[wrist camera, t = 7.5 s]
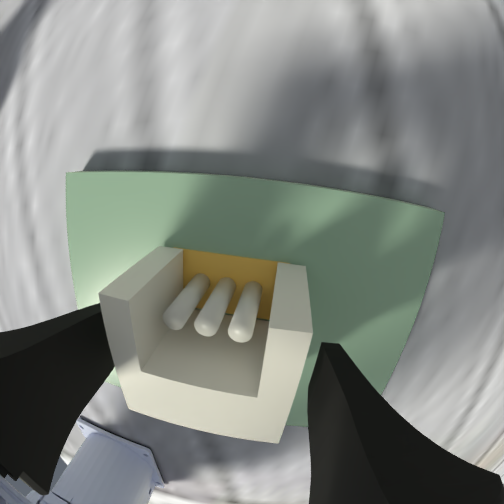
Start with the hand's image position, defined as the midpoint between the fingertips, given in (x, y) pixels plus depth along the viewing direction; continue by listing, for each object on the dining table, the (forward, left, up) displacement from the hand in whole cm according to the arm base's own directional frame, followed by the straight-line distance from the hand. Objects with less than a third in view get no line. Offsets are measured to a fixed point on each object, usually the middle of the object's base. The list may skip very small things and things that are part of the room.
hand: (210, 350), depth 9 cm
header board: (-1, 0, -4) cm, 4 cm away
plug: (0, 0, -2) cm, 2 cm away
